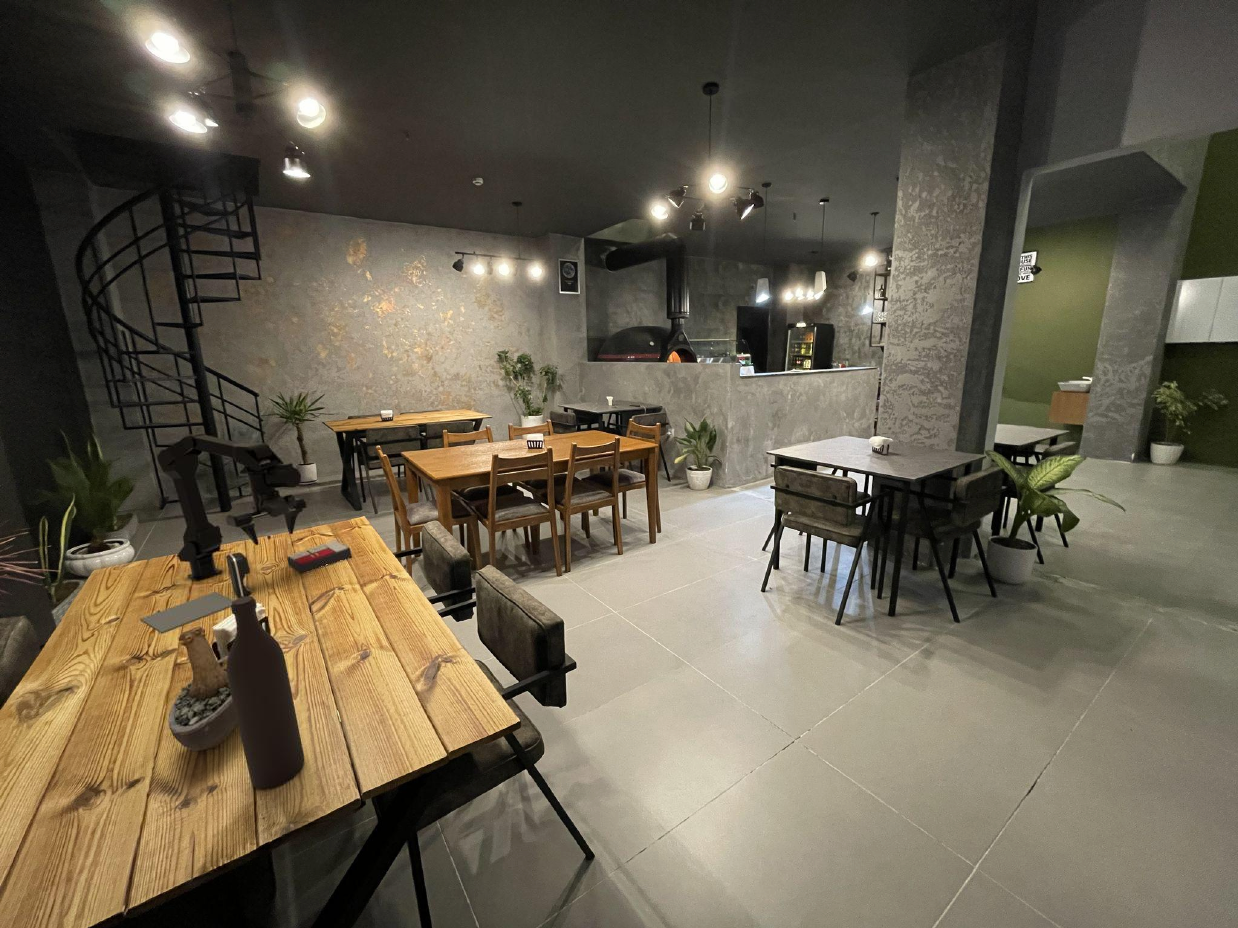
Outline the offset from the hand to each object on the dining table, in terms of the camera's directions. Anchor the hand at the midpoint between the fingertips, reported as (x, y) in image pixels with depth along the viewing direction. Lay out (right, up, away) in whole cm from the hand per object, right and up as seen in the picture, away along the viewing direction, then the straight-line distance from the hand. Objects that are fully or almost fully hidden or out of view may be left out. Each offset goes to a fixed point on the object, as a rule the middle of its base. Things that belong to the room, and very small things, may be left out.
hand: (274, 539), depth 143 cm
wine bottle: (+47, -27, -65) cm, 85 cm away
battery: (-5, -14, -5) cm, 16 cm away
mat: (-11, -17, -15) cm, 25 cm away
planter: (+30, -25, -56) cm, 69 cm away
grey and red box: (+4, -10, +15) cm, 18 cm away
